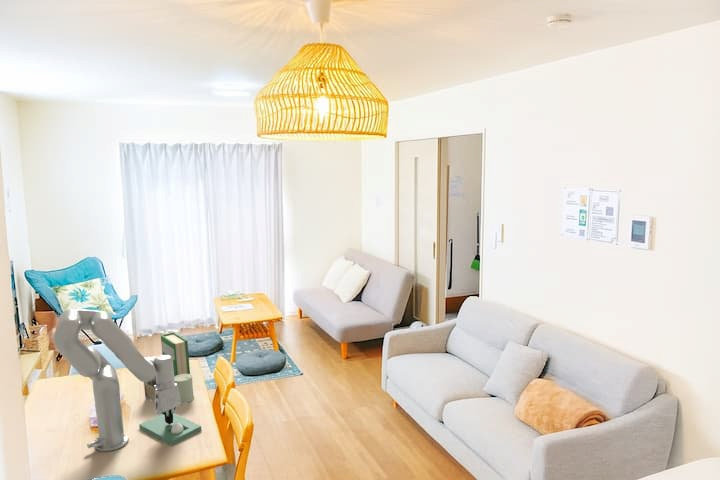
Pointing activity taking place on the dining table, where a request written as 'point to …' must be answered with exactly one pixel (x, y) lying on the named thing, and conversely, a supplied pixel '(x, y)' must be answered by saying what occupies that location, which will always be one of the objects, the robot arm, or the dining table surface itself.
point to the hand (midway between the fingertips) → (169, 422)
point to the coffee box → (150, 389)
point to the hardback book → (176, 352)
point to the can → (185, 387)
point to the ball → (177, 428)
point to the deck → (169, 428)
